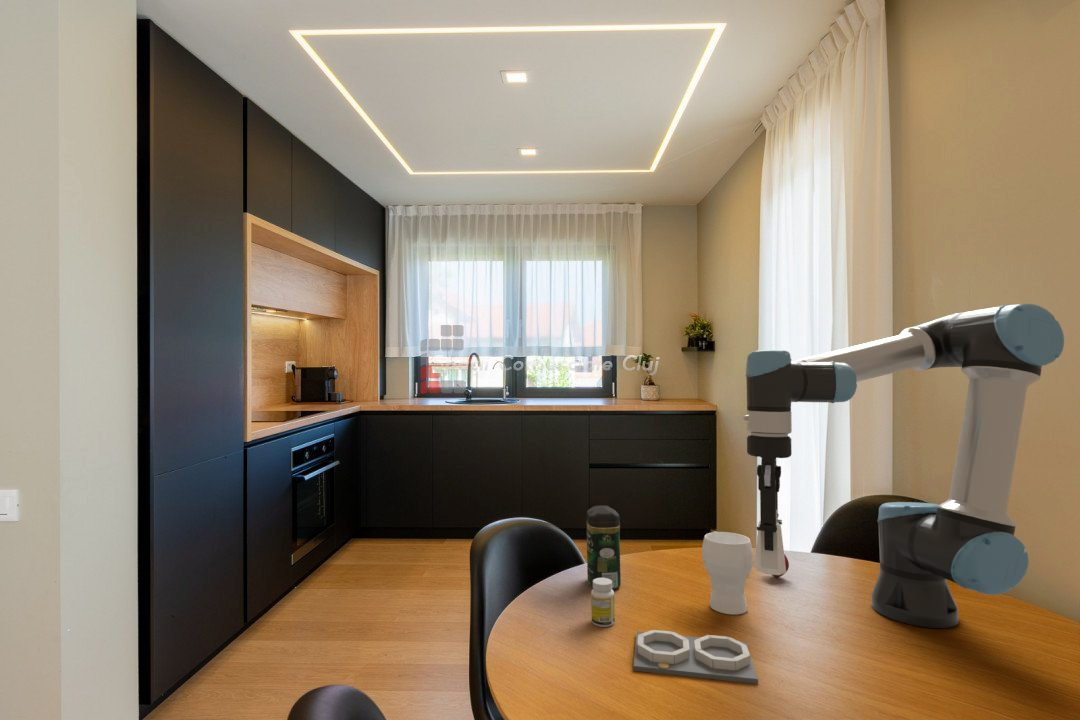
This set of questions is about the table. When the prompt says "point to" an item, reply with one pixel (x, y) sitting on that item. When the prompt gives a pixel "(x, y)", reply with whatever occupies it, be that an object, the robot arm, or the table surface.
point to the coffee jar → (603, 545)
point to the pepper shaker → (780, 553)
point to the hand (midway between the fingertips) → (769, 563)
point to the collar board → (694, 656)
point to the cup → (727, 570)
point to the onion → (786, 567)
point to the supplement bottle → (602, 603)
